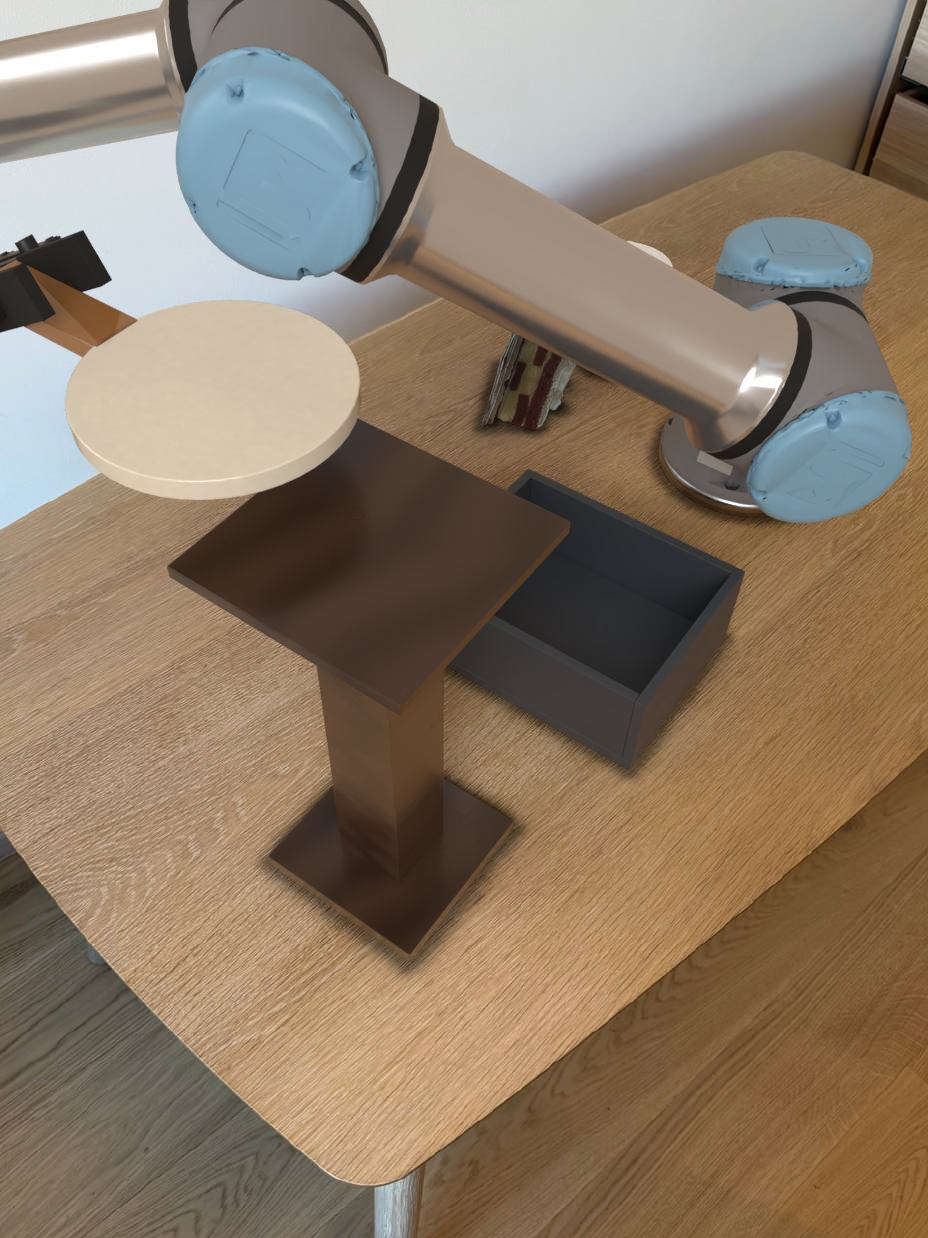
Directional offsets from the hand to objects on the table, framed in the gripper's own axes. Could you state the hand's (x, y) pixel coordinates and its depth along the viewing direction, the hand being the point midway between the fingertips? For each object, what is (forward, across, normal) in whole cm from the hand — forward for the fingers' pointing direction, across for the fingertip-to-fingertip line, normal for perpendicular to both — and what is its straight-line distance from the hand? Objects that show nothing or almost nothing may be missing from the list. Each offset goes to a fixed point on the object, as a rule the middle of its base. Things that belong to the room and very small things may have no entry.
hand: (63, 274), depth 55 cm
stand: (-2, 0, -42) cm, 42 cm away
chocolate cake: (-19, -47, -33) cm, 60 cm away
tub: (-2, -23, -42) cm, 48 cm away
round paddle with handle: (+3, 0, -6) cm, 6 cm away
